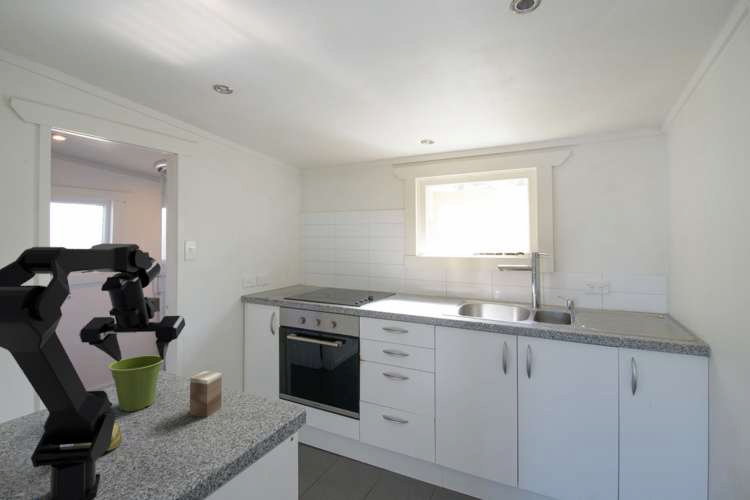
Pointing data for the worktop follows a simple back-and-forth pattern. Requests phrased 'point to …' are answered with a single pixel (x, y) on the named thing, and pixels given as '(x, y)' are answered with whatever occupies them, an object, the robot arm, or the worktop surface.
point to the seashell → (115, 438)
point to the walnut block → (205, 393)
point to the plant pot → (136, 381)
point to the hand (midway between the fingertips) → (141, 359)
